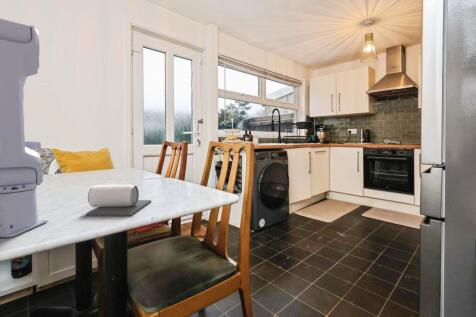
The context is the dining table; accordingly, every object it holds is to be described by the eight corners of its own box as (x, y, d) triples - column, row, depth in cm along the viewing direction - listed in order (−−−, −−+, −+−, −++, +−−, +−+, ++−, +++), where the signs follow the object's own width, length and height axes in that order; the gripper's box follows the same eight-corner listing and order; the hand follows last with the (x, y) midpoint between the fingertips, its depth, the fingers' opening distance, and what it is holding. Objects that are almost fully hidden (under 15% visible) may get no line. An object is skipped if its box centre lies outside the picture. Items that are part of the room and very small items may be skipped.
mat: (131, 216, 63) (131, 213, 63) (86, 215, 63) (86, 213, 63) (151, 201, 77) (151, 200, 77) (114, 201, 77) (114, 199, 77)
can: (87, 209, 66) (130, 208, 66) (87, 185, 66) (130, 184, 67) (99, 205, 72) (139, 204, 73) (99, 184, 73) (139, 183, 73)
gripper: (48, 125, 66) (51, 173, 68) (-3, 124, 66) (1, 172, 68) (25, 124, 59) (29, 178, 61) (-32, 123, 59) (-27, 176, 61)
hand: (13, 175), depth 64 cm, fingers closed
